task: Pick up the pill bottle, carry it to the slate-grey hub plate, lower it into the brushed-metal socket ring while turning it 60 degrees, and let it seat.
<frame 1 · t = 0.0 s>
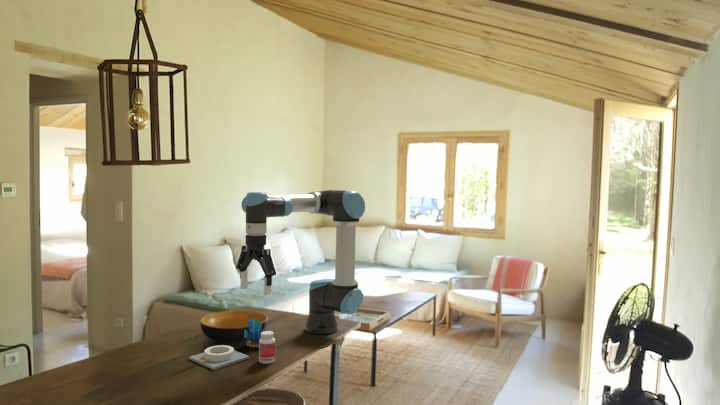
hand: (255, 291, 190), 28 cm above the table, fingers open, 13 cm apart
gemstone: (255, 345, 215), on the table
pill bottle: (266, 361, 196), on the table
hub: (219, 358, 198), on the table
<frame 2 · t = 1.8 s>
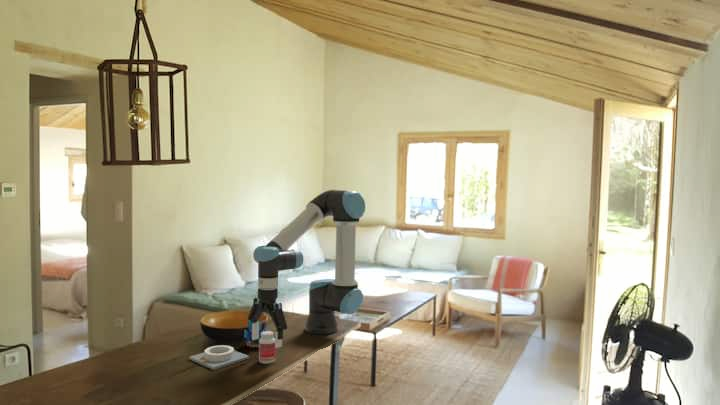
hand: (266, 343, 196), 7 cm above the table, fingers open, 13 cm apart
nothing on the table moved.
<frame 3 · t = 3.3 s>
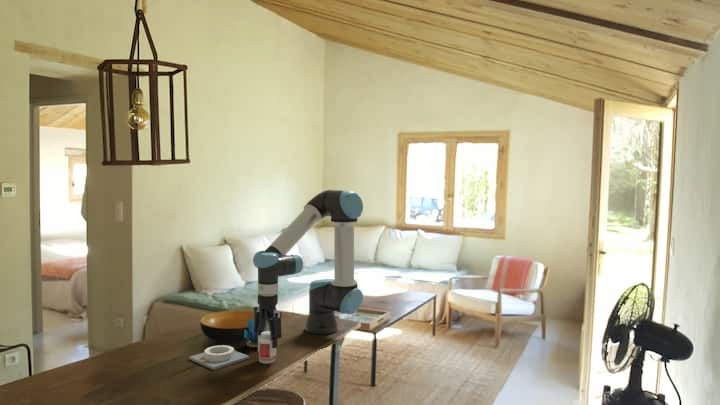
hand: (267, 353, 196), 3 cm above the table, fingers closed on pill bottle, 6 cm apart
pill bottle: (266, 361, 196), on the table, touching gripper
everything else where it was.
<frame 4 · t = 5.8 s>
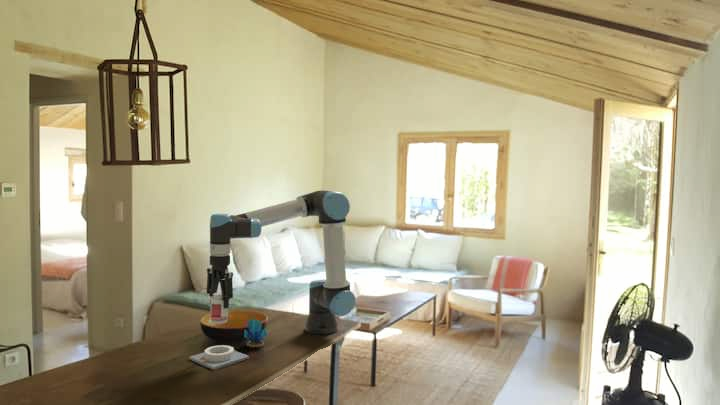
hand: (219, 314, 197), 17 cm above the table, fingers closed on pill bottle, 6 cm apart
pill bottle: (218, 322, 197), point 14 cm above the table, touching gripper
everything else where it was.
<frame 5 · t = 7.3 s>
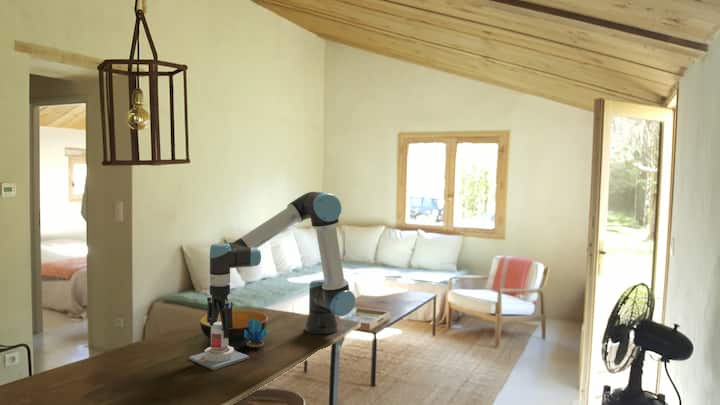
hand: (219, 343, 197), 6 cm above the table, fingers closed on pill bottle, 6 cm apart
pill bottle: (219, 351, 197), point 3 cm above the table, touching gripper
everything else where it was.
when the fingers open (5 cm above the table, at t = 8.6 s): pill bottle stays where it is, resting on hub.
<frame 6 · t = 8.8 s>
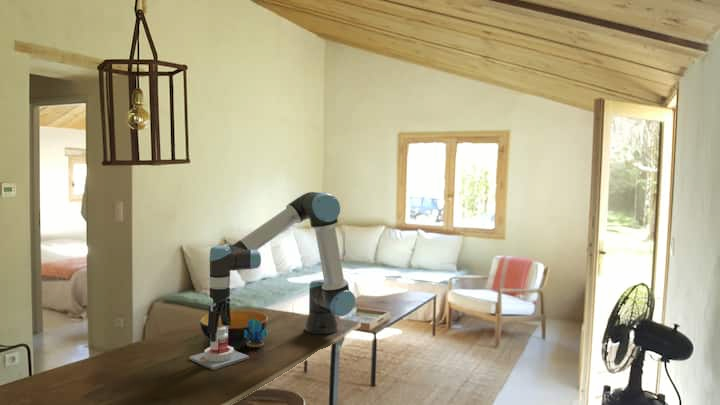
hand: (219, 345, 197), 5 cm above the table, fingers open, 8 cm apart
pill bottle: (219, 356, 198), point 1 cm above the table, touching hub
everything else where it was.
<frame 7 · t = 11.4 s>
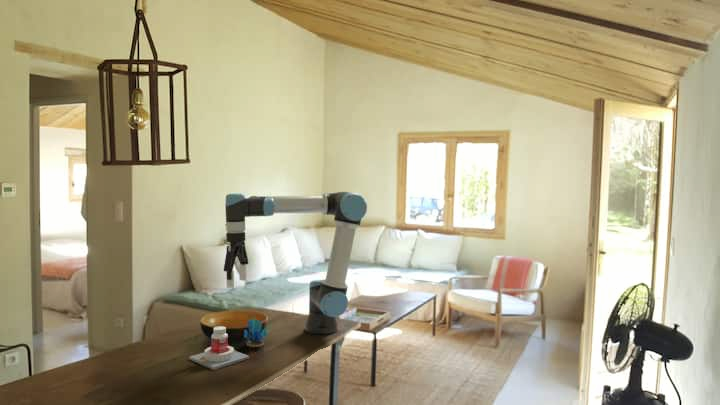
hand: (236, 283, 209), 26 cm above the table, fingers open, 13 cm apart
nothing on the table moved.
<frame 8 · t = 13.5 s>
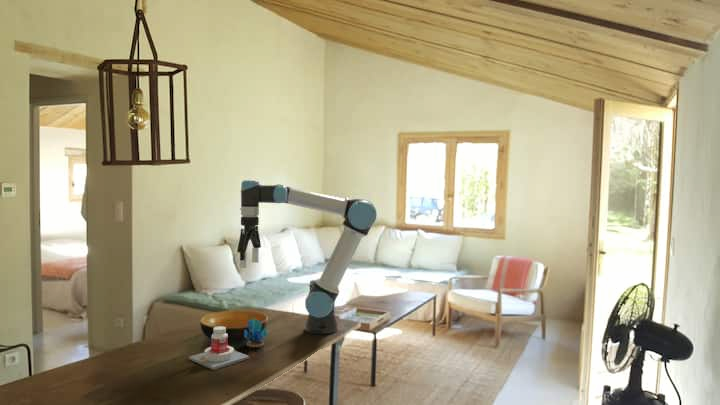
hand: (249, 265, 223), 32 cm above the table, fingers open, 13 cm apart
nothing on the table moved.
at the end: pill bottle 0.1 cm off-centre on the hub, point 0.8 cm above the hub's base; pill bottle tilted 0°; the gripper is holding nothing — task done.
